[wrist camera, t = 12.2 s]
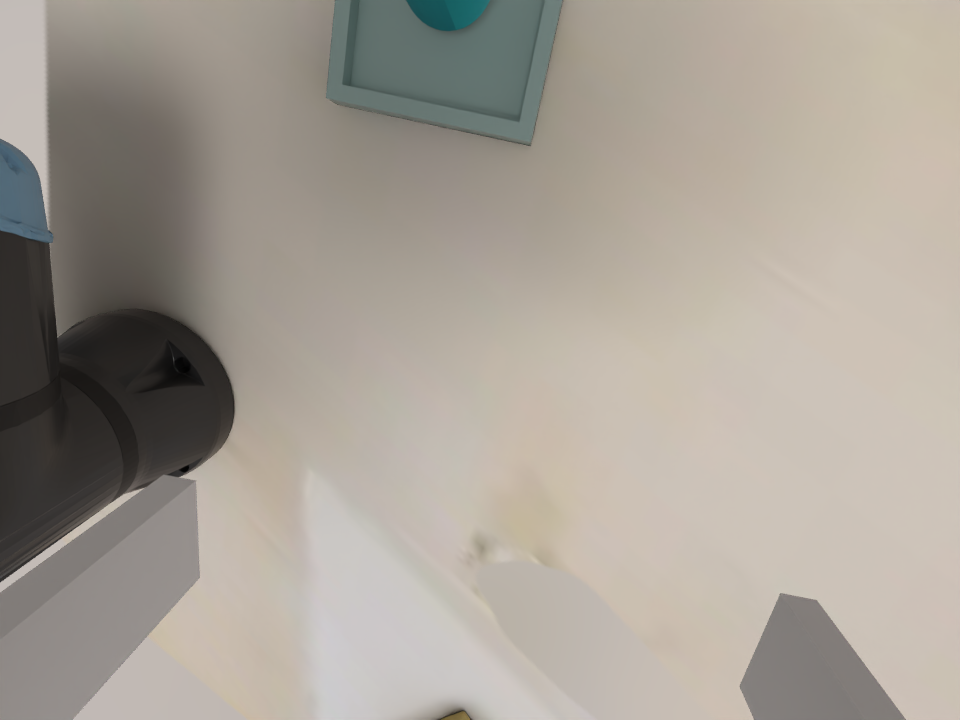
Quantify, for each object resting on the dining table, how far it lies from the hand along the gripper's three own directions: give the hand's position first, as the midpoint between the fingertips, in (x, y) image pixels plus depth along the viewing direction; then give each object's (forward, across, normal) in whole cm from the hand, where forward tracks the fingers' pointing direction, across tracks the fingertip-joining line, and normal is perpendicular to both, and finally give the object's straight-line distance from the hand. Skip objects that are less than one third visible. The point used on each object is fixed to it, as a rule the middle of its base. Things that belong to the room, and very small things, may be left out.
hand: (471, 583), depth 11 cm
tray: (+28, -7, +21) cm, 35 cm away
